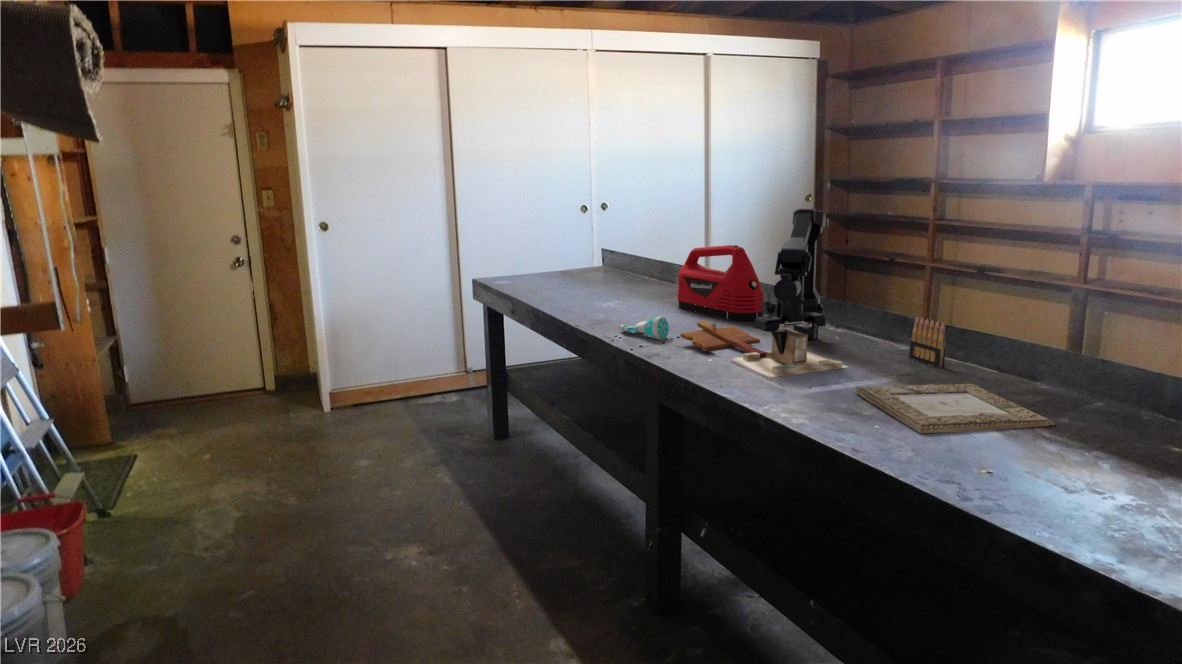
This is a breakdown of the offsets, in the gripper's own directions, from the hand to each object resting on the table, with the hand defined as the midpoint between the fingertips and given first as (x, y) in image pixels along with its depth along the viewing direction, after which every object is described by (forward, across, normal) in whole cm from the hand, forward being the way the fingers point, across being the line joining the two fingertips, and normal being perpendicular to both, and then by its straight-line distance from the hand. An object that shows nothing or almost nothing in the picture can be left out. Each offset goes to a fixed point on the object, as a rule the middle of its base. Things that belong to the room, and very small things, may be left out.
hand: (788, 353), depth 194 cm
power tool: (+4, -20, -72) cm, 75 cm away
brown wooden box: (+2, 0, 0) cm, 2 cm away
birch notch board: (+4, 0, 0) cm, 4 cm away
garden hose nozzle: (+4, +20, -51) cm, 54 cm away
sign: (+3, +5, -22) cm, 23 cm away
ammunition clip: (+4, -36, +11) cm, 38 cm away
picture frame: (+4, -12, +42) cm, 44 cm away
